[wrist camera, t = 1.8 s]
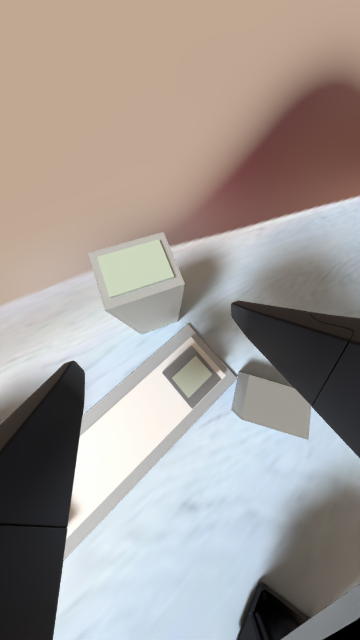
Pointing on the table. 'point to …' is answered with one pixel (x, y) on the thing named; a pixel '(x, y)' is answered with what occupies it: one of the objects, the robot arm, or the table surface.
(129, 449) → the rail
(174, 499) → the table surface
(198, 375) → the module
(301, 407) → the block
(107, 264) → the panel
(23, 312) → the table surface
